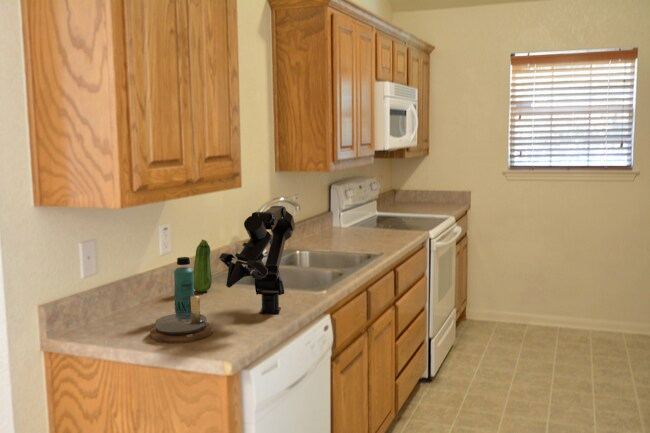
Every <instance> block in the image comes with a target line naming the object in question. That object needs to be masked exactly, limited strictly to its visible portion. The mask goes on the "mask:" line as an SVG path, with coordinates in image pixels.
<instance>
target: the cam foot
mask: <svg viewBox="0 0 650 433" xmlns="http://www.w3.org/2000/svg"><path fill="white" fill-rule="evenodd" d="M200 297H201V296H200V295H195V294H194V296H191V313H180V314H176V313H173V314H168V315H163V316H161V317H159V318H157V319H156V320H155V323H154V324H155V326H156V332H158V333H160V334H163V335H188V334H193V333H197V332H200V331H203V330H204V329H206V327H207V323H208V322H207V319H208V318H207V316H205V315H204V314H201V304H200V303H201V302H200V300H201V298H200Z"/></svg>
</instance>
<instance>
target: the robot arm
mask: <svg viewBox="0 0 650 433" xmlns="http://www.w3.org/2000/svg"><path fill="white" fill-rule="evenodd" d="M295 224H296V223H295V220H294V216H293V214H291V213H290V212H289V211H287V208H286V207H285V206H283V205H272V206H270V207H269V208H268V209H266V210H265V211H254V212H251V215H249V216H248V217H247V218H246V219H245V220H244V222H243V226H244V229H245V231H246V233H247V236H248V237H249V239H248V241H247V242H243V243H242V246H243V248H242V249H241V251H240V252H239V253H238V252H236V253H235V254H234V255H233V254H232V253H229V252H222V253H221V254H220V256H219V258H218V259H219V260H220V261H221V262H222V263H223V264H224V265H225V266H226V267H227V268H228V272H227V277H226V283H225V286H226V287H227V288H231V287H232V286H234V285H235V284H237V283H238V282H240V280H242V279H243V278H245V277H252V278H253V279H254V289H255V295H257V296H259V295H261V308H260V310H259V314H262V315H264V314H268V315H269V314H270V315H271V314H272V315H273V314H277V315H278V314H279V315H280V312H281V310H282V307H280V303H279V302H280V300H279V299H280V297H279V296H281V295H285V284H284V282H283V279H282V277H281V272H280V264H281V261H282V257H283V252H284V248H285V245H286V241H287V240H288V239H289V240H290V238H292V236H293V232H294V231H295V229H296V228H295V226H296V225H295ZM268 230H270V232H271V233H270V232H269V231H268ZM269 244H270V245H269ZM268 245H269V249H268V253H267V256H266V261H265V263H264V262H263V261H262V260H263V259H264V254H263V253H264V251H265V250H266V248H267V247H268Z"/></svg>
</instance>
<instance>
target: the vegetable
mask: <svg viewBox="0 0 650 433" xmlns="http://www.w3.org/2000/svg"><path fill="white" fill-rule="evenodd" d="M210 255H211V246H210V245H209V242H208V241H207V240H206V239H203V238H202V239H201V241H200V242H199V244H198V245H197V246H196V249H195V255H194V256H195V257H194V264H193V271H194V272H193V278H194V291H195V292H198V293H203V292H206V291H209V290H210V289H211V287H212V280H213V277H212V267H211V256H210Z"/></svg>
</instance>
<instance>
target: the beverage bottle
mask: <svg viewBox="0 0 650 433" xmlns="http://www.w3.org/2000/svg"><path fill="white" fill-rule="evenodd" d="M176 261H177V262H176V265H178V266H179V267H176V269H175V270H174V271H173V279H174V280H173V282H174V293H173V294H174V300H173V301H174V314H180V313H191V296H194V295H195V289H194V278H193V272H194V269H193V268H192V267H190V266H189V265H190V264H191V262H190V257H189V256H180V257H177V258H176ZM187 265H188V266H187Z"/></svg>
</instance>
